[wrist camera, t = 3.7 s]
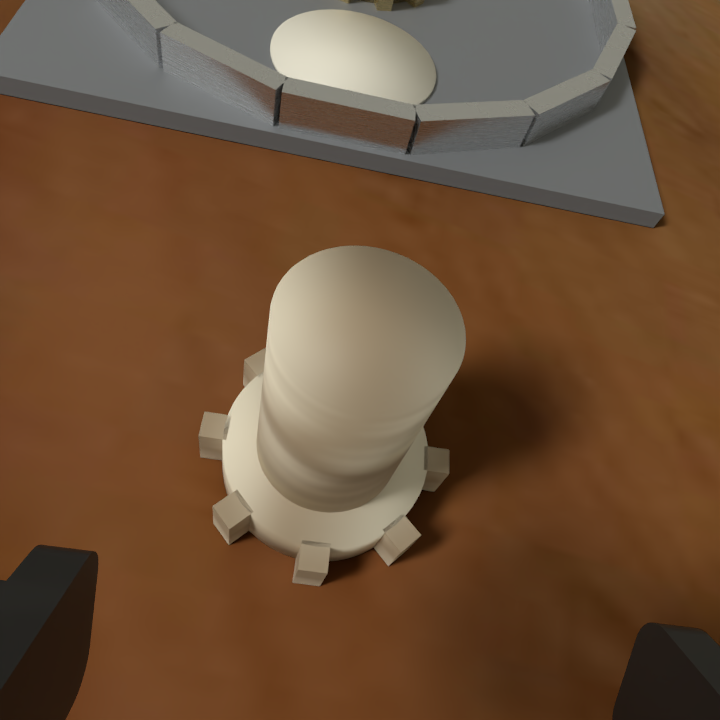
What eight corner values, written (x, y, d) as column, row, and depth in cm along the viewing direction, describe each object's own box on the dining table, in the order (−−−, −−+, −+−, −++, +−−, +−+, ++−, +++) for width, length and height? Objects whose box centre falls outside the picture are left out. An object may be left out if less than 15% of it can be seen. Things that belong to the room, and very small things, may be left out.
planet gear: (436, 381, 25) (526, 227, 18) (432, 600, 21) (552, 518, 13) (226, 346, 24) (227, 167, 17) (173, 567, 20) (142, 459, 12)
